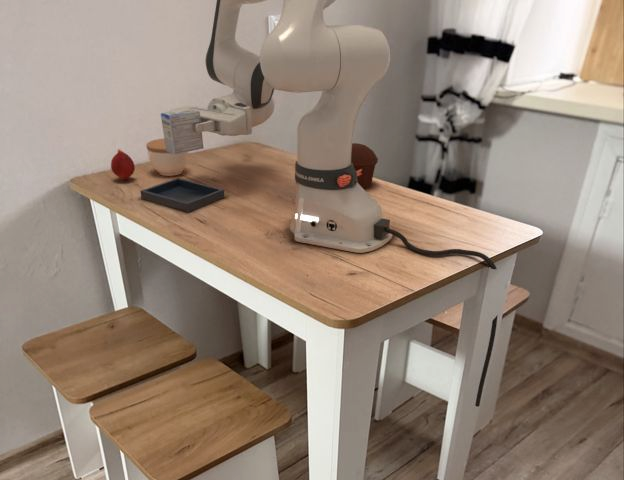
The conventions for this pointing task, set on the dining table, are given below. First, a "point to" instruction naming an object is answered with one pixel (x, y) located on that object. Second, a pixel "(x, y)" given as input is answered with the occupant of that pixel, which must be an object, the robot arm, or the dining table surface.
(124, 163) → the onion
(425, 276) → the dining table surface
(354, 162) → the muffin
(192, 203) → the tray
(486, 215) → the dining table surface
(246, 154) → the dining table surface
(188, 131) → the medicine box
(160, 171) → the trinket box
